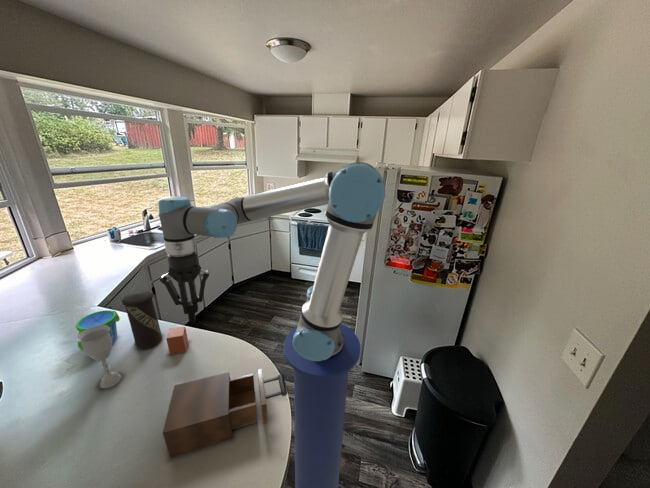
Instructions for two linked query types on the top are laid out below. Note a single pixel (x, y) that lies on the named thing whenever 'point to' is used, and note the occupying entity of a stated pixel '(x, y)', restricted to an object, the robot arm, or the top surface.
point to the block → (177, 340)
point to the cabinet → (198, 415)
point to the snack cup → (99, 323)
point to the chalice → (99, 351)
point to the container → (142, 318)
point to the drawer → (249, 399)
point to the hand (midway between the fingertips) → (192, 320)
